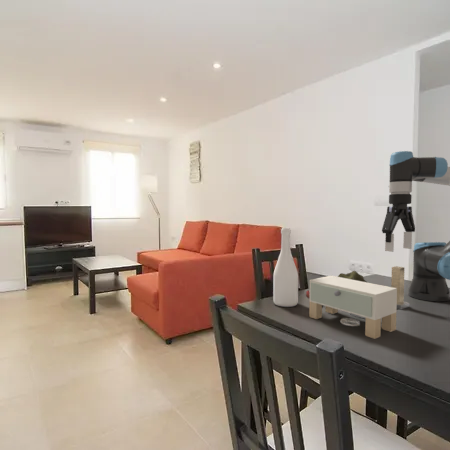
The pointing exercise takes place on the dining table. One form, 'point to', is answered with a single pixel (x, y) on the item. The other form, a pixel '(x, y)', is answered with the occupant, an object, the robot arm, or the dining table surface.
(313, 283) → the cabinet
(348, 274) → the decorative rock
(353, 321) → the steel disc
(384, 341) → the dining table surface
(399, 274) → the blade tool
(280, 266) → the wine bottle
